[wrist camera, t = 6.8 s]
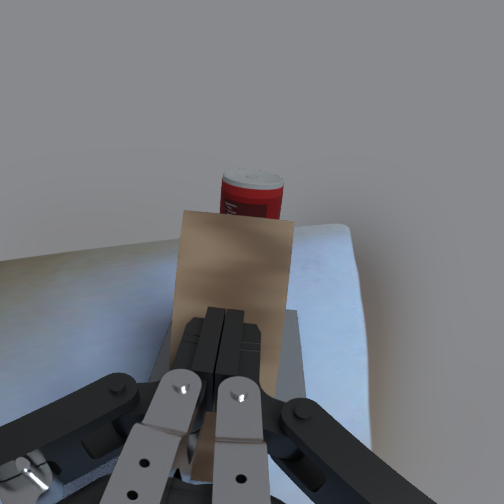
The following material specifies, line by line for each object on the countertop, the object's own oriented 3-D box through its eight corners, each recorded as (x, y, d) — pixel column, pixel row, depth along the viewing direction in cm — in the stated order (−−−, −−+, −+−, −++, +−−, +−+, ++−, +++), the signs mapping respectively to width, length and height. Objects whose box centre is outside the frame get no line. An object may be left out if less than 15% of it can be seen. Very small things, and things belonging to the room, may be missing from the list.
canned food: (260, 241, 48) (268, 169, 43) (283, 266, 41) (296, 184, 36) (210, 245, 45) (214, 168, 40) (227, 273, 38) (233, 184, 33)
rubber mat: (307, 428, 20) (308, 425, 19) (140, 408, 20) (139, 405, 19) (295, 313, 32) (296, 310, 32) (180, 301, 32) (180, 297, 32)
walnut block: (167, 474, 13) (184, 209, 14) (183, 434, 18) (200, 224, 19) (260, 486, 13) (294, 220, 14) (257, 443, 18) (282, 233, 19)
